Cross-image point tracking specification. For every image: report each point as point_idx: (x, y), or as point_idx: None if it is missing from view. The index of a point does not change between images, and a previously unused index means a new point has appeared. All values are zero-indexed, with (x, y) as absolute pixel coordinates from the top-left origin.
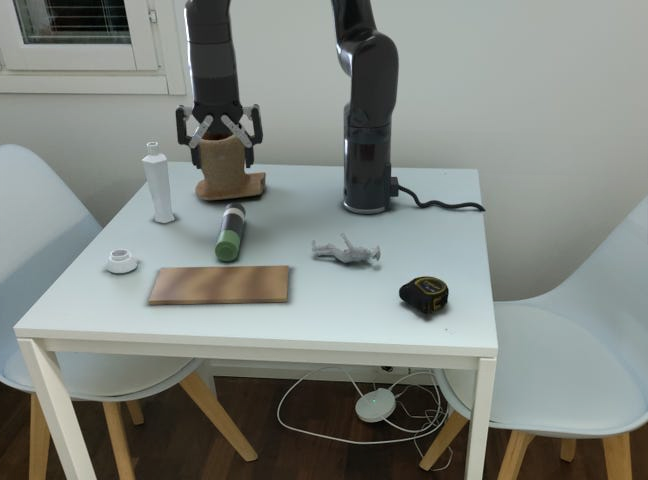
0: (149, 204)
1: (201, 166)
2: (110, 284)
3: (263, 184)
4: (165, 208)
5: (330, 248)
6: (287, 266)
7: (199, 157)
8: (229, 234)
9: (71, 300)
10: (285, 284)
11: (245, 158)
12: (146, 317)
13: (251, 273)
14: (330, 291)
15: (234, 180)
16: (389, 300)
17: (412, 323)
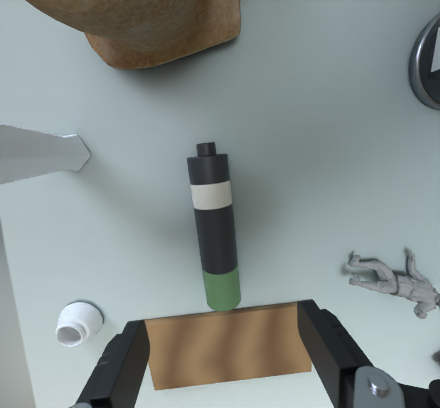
0: (3, 80)
1: (146, 334)
2: (88, 352)
3: None
4: (63, 165)
5: (381, 292)
6: None
7: (137, 387)
8: (226, 289)
9: (61, 385)
10: None
11: (315, 366)
12: (162, 403)
13: (264, 327)
14: (359, 341)
15: (180, 28)
16: (422, 351)
17: None
